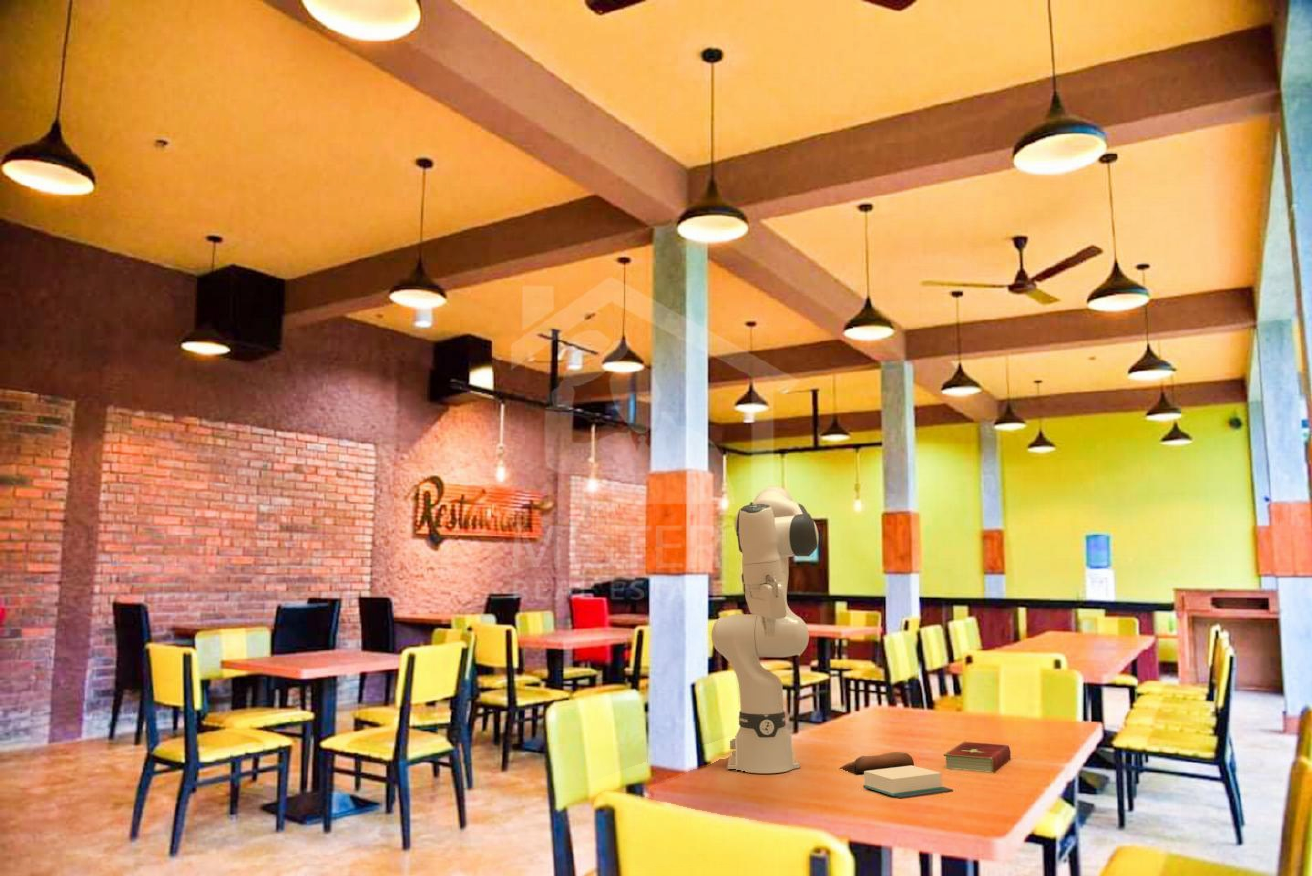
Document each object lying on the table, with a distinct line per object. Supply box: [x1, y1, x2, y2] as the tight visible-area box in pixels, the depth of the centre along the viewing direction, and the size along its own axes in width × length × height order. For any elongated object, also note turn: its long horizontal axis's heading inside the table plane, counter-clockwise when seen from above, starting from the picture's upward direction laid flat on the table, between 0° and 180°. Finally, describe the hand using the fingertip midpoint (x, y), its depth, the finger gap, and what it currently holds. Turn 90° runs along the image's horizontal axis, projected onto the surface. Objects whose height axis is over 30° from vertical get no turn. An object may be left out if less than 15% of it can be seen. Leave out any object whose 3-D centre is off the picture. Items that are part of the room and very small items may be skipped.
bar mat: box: [863, 784, 954, 800], centre depth 207 cm, size 15×13×1 cm
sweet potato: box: [838, 751, 915, 775], centre depth 230 cm, size 18×7×7 cm, turn 114°
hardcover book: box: [943, 741, 1012, 773], centre depth 235 cm, size 12×21×4 cm, turn 148°
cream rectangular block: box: [863, 765, 943, 797], centre depth 207 cm, size 4×10×14 cm
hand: (770, 636), depth 205 cm, fingers closed
